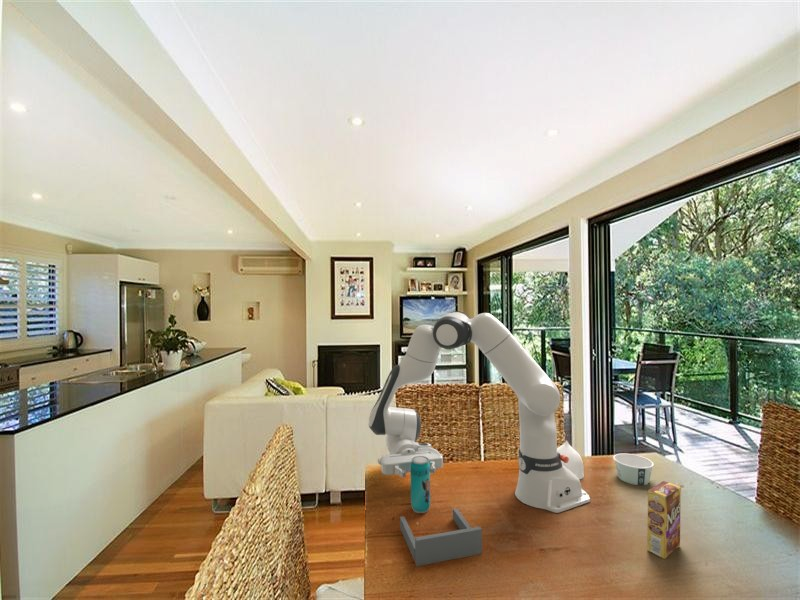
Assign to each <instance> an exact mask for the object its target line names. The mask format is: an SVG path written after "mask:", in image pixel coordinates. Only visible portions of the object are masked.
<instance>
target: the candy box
mask: <svg viewBox="0 0 800 600" xmlns="http://www.w3.org/2000/svg"><path fill="white" fill-rule="evenodd" d="M647 491H648V492H647V530H646V531H647V533H646V534H647V538H646V539H647V542H646V550H647V552H650V553H651V552H652V553H651V554H654V555H656V556H657V557H659V558H661V559H663V560H665V559H667V557H669V556H670V555H671V554H672V553H673V552H675V551H676V550H677V549H678V548H679V546H680V547H681V500H682V499H681V498H682V497H681V495H682V494H681V493H682V487H681V486H680V485H677V484H674V483H672V482H668V481H665V480H663V481H661V482H660V483H658V484H656V485H654V486H653V487H652V488H649V489H648V490H647Z"/></svg>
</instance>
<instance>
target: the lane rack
mask: <svg viewBox="0 0 800 600" xmlns="http://www.w3.org/2000/svg"><path fill="white" fill-rule="evenodd" d="M452 520H453V522H454V523H455V524H456V526H457V527H458V529H456V530H451V531H447V532H446V531H445V532H440V533H434V534H427V535H422V536H417V537H416V536H414V534H413V532H412V529H411V528H410V526H409V523H408V521H407V519H406V518H405V516H404V515H402V516H399V529H400V531H401V533H402V535H403V538H404V540H405V543H406V545H407V548H408V549H409V551H410V554H411V555H412V559H413V561H414V564H415V565H416V567H419V566H424V565H425V566H426V565H429V564H436V563H440V562H446V561H451V560H455V559H462V558H465V557H467V558H468V557H472V556H476V555H482V554H483V539H482V538H483V537H482V536H483V534H482V533H483V532H482V531H483V530H482V528H481V526H475V527H471V525H470V524H469V522H468V521H467V519H465V517H464V516H463V515H462V513H461V512H460V510H459V509H458V508H457V507H455V508H452Z"/></svg>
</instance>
